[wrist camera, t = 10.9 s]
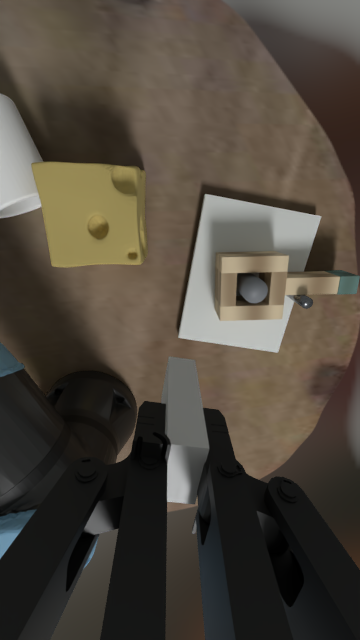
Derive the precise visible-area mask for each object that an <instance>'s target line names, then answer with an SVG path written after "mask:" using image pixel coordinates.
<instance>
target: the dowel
mask: <svg viewBox="0 0 360 640" xmlns="http://www.w3.org/2000/svg"><path fill="white" fill-rule="evenodd" d="M286 296H287V297H289V298H290V299H292V300H293V301H294V302H296V303H297V304H299V305H300V306H302V307H303V308H306V309H307V308H310V307H311V306H312V304H313V301H312V299H311V298H309V297H307V296H306V295H286Z"/></svg>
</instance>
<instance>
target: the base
mask: <svg viewBox="0 0 360 640" xmlns="http://www.w3.org/2000/svg"><path fill="white" fill-rule="evenodd" d="M320 219H321V216H317V215H312V214H307V213H302V212H296V211H291V210H286V209H281V208H276V207H271V206H265V205H260V204H255V203H250V202H245V201H240V200H235V199H229V198H224V197H219V196H214V195H209V194H205V195H204V199H203V204H202V209H201V215H200V220H199V225H198V231H197V236H196V242H195V247H194V252H193V258H192V263H191V268H190V274H189V279H188V285H187V290H186V295H185V301H184V306H183V311H182V317H181V322H180V327H179V333H178V337H179V338H183V339H190V340H197V341H203V342H210V343H217V344H224V345H230V346H237V347H244V348H250V349H257V350H264V351H270V352H277V353H278V350H279V347H280V344H281V341H282V338H283V335H284V332H285V328H286V325H287V322H288V319H289V316H290V313H291V310H292V307H293V304H294V301H293V300H292V299H290V298H289V297H287V296H286V295H285V299H284V308H283V317H282V319H272V320H237V321H220V320H219V318H218V316H217V313H216V311H215V263H216V252H253V251H276V252H279V253H282V254H285V255H288V256H289V262H288V271H287V272H304V269H305V266H306V263H307V260H308V257H309V254H310V250H311V247H312V244H313V241H314V238H315V235H316V232H317V229H318V225H319V222H320ZM267 292H268V288H267V285H266V283H265V282H264V281H262V280H261V279H260V278H259V272H257V273H237V287H236V296H243V297H244V298H245V300H246V301H248V302H250V303H259V302H261V301H262V300H264V298H265V297H266V295H267Z"/></svg>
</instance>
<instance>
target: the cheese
mask: <svg viewBox="0 0 360 640" xmlns="http://www.w3.org/2000/svg"><path fill="white" fill-rule="evenodd" d="M31 167H32V172H33V176H34V179H35V183H36V187H37V190H38V194H39V198H40V202H41V206H42V212H43V218H44V223H45V229H46V235H47V240H48V246H49V253H50V260H51V265H52V266H55V267H77V266H82V265H96V264H130V265H140V264H142V263H143V262H144V260H145V258H146V257H147V253H148V247H147V232H146V221H145V182H146V173H145V171H144V170H140V168H139V167H137V166H118V165H110V164H97V163H68V162H35V163H32V164H31Z"/></svg>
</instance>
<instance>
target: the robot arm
mask: <svg viewBox="0 0 360 640" xmlns="http://www.w3.org/2000/svg"><path fill="white" fill-rule="evenodd" d="M24 368H25V366H24V365H23V364H22V363H19V362H18V361H17V360H16V359H15V357H14V356H13V355H12V354H11V353H10V352H9V351H8V350H7V348H6V347H5V346H4V345H3V344H2V343H1V342H0V640H50V639H51V637H52V634H53V632H54V630H55V628H56V626H57V624H58V622H59V620H60V617H61V615H62V613H63V611H64V609H65V607H66V605H67V602H68V600H69V598H70V596H71V594H72V592H73V590H74V588H75V585H76V583H77V581H78V579H79V577H80V575H81V573H82V570H83V569H84V568H85V566H86V565H87V564H88V563H89V561H90V560H91V558H92V556H93V554H94V551H95V547H96V544H97V540H98V537H99V534H100V533H103V532H106V531H110V530H114V529H118V528H119V530H118V536H117V542H116V548H115V554H114V560H113V566H112V572H111V578H110V584H109V590H108V596H107V603H106V608H105V614H104V620H103V626H102V632H101V638H100V640H165V618H166V539H167V502H177V503H187V504H195V502H196V498H197V496H198V510H197V513H196V517H195V521H194V525H193V529H192V533H194V534H195V532H196V528H197V539H198V552H199V566H200V579H201V592H202V604H203V617H204V629H205V640H360V570H359V568H358V567H357V565H356V564H355V563H354V561H353V560H352V558H351V557H350V556H349V554H348V553H347V551H346V550H345V549H344V547H343V546H342V544H341V543H340V542H339V540H338V539H337V538H336V536H335V535H334V533H333V532H332V530H331V529H330V528H329V526H328V525H327V523H326V522H325V521H324V519H323V518H322V516H321V515H320V514H319V512H318V511H317V509H316V508H315V507H314V505H313V504H312V502H311V501H310V500H309V498H308V497H307V495H306V494H305V493H304V491H303V490H302V489H301V488H300V487H299V486H298V485H297V484H296V483H294V482H293V481H291V480H290V479H287V478H284V477H274V478H271V480H270V481H269V483H265V482H263V481H260V480H258V479H255V478H253V477H251V476H249V475H248V474H246V472H245V470H244V468H243V466H242V465H241V464H240V463H239V462H238V461H237V460H236V459H235V455H234V451H233V447H232V444H231V440H230V436H229V434H228V433H229V432H228V429H227V425H226V421H225V417H224V416H223V415H222V414H221V412H220V411H219V410H216V409H208V408H203V406H202V400H201V394H200V388H199V382H198V375H197V369H196V363H195V360H190V359H183V358H177V357H170V356H169V359H168V364H167V370H166V375H165V381H164V386H163V392H162V399H161V403H156V402H148V401H144V403H143V404H142V405H141V406H140V407H139V412H138V418H137V424H136V430H135V436H134V440H133V444H132V451H131V453H130V455H129V456H128V457H127V458H126V459H124V460H123V461H121V462H118V463H116V459H117V455H118V454H119V452H120V451H121V449H122V448H123V447H124V445H125V444H126V442H127V441H128V439H129V438H130V436H131V435H132V433H133V430H134V427H135V423H136V417H137V406H136V402H135V399H134V397H133V395H132V393H131V392H130V390H129V389H128V388H127V387H126V386H125V385H124V384H123V383H122V382H120V381H119V380H117V379H116V378H114V377H112V376H110V375H107V374H104V373H101V372H95V371H80V372H75V373H72V374H69V375H67V376H65V377H63V378H61V379H60V380H59V381H57V382H56V383H55V384H54V386H53V387H52V388H51V390H50V391H49V392H48V394H47V395H46V396H45V395H44V393H43V392H42V391H41V390H40V388H39V387H38V386H37V384H36V383H35V382H34V381H33V379H32V378H31V377H30V376H29V374H28V373H27V372H26V371H25V369H24Z"/></svg>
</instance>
